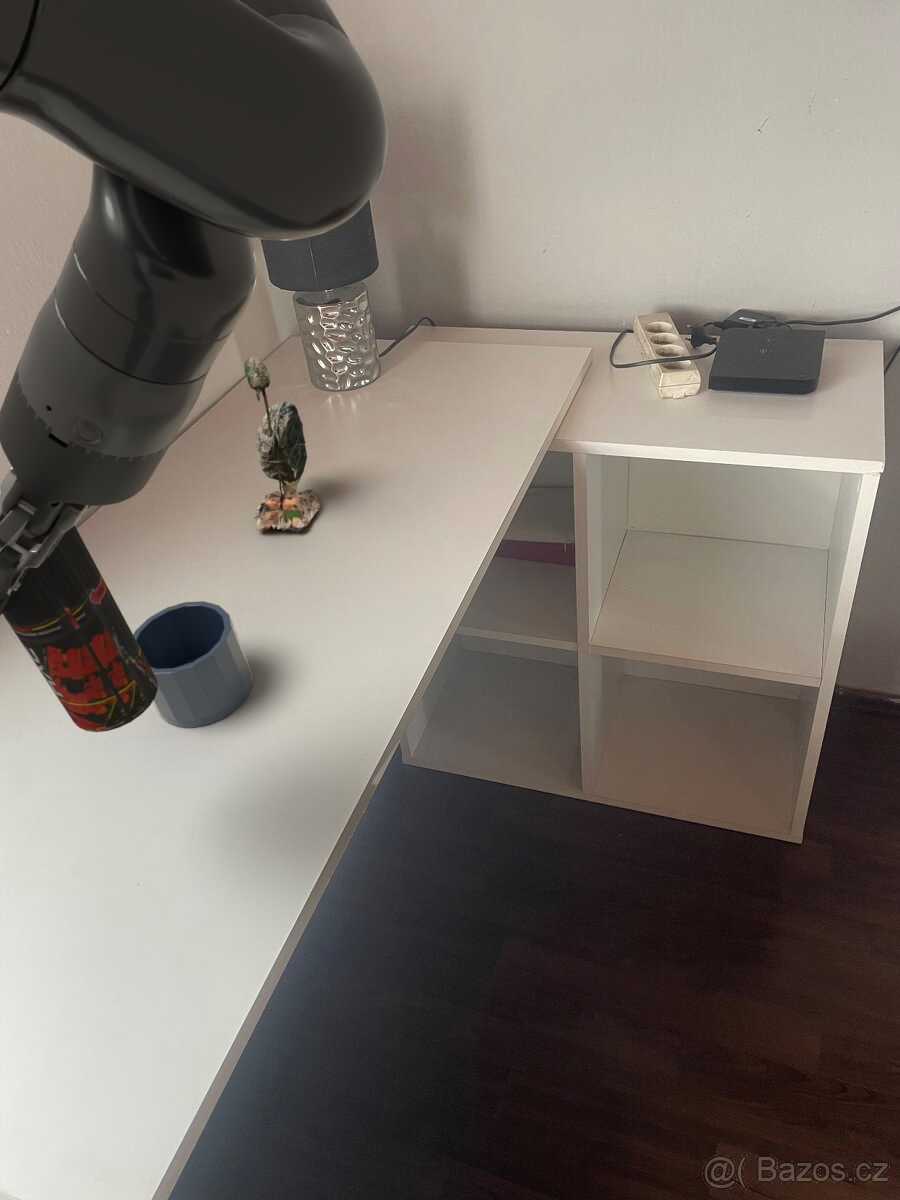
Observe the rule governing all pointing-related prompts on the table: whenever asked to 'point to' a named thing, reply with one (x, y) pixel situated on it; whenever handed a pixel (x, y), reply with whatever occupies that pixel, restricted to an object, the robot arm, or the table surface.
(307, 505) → the plant with pod
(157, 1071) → the table surface
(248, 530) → the table surface
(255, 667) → the table surface
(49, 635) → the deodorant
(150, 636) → the holder
